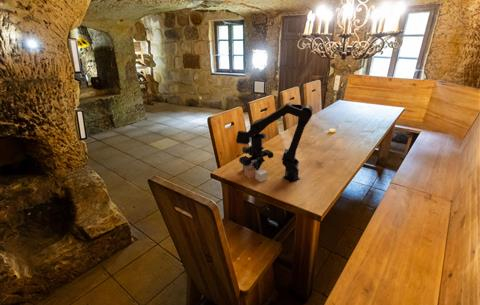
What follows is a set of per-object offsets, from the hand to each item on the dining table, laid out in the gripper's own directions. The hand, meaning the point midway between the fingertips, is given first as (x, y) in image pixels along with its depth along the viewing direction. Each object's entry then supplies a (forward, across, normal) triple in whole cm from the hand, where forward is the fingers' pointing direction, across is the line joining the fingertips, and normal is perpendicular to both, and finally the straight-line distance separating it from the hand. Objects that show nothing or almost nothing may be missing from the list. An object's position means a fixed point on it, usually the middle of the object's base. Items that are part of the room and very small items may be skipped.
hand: (256, 171), depth 141 cm
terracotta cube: (+1, +4, 0) cm, 4 cm away
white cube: (+1, +1, +6) cm, 6 cm away
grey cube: (+1, +2, -6) cm, 6 cm away
